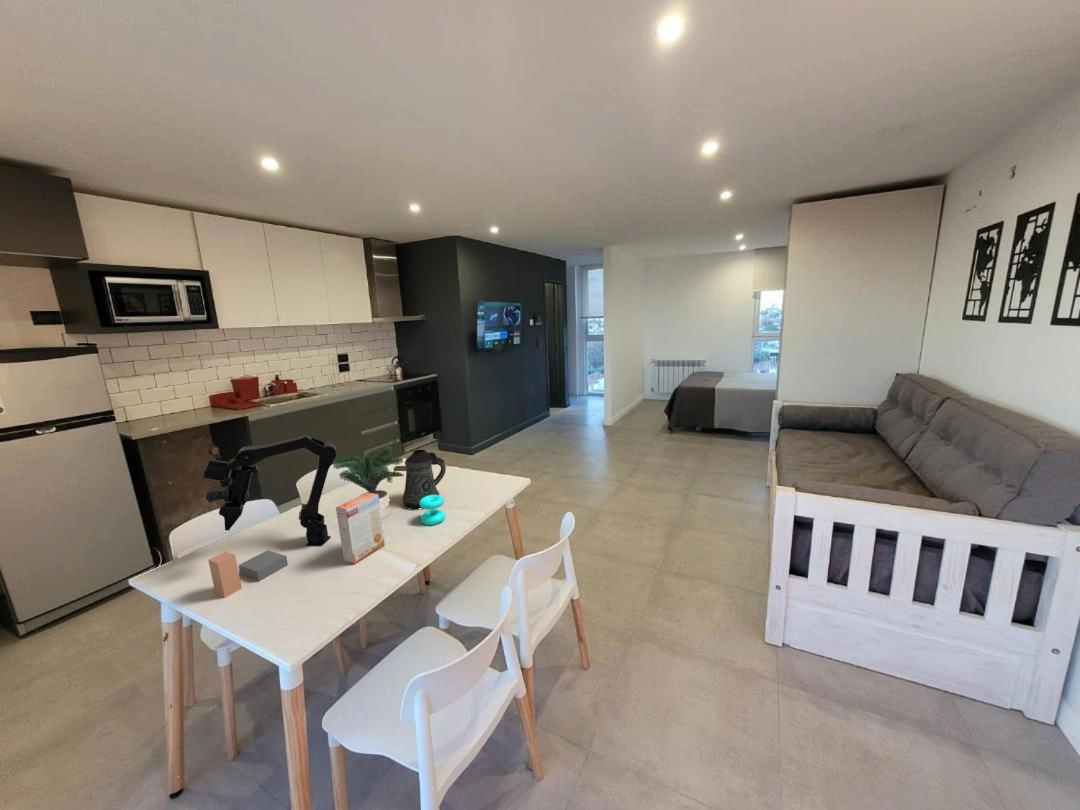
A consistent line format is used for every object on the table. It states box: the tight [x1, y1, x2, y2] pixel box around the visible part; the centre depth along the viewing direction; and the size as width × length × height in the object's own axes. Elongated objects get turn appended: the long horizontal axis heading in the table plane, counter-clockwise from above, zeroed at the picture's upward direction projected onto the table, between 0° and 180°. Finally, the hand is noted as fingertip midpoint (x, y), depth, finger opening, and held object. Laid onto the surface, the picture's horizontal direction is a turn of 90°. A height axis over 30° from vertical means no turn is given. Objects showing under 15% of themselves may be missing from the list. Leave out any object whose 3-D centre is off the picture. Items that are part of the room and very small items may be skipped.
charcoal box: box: [237, 549, 289, 582], centre depth 143 cm, size 10×10×4 cm
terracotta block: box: [208, 551, 243, 599], centre depth 131 cm, size 5×5×12 cm
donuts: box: [419, 494, 446, 526], centre depth 175 cm, size 10×10×10 cm
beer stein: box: [401, 449, 447, 510], centre depth 192 cm, size 16×19×25 cm
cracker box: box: [335, 492, 386, 565], centre depth 150 cm, size 14×6×21 cm, turn 153°
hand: (229, 524), depth 146 cm, fingers open, 9 cm apart
